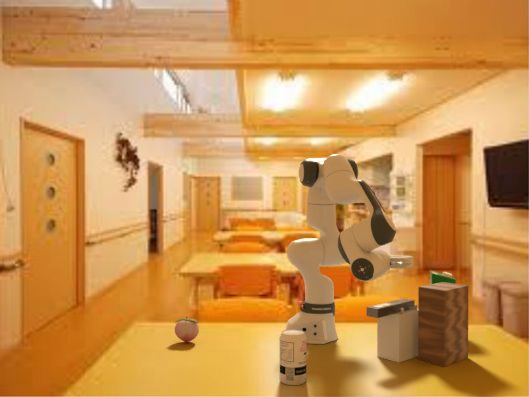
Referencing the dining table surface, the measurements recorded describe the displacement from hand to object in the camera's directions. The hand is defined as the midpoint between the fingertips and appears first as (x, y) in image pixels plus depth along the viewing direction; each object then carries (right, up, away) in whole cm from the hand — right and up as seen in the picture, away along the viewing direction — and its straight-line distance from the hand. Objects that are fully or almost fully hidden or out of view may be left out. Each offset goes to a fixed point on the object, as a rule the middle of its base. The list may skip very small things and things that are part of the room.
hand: (387, 258), depth 199 cm
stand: (+19, -34, -1) cm, 39 cm away
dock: (+5, -34, +3) cm, 35 cm away
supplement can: (-34, -35, -24) cm, 54 cm away
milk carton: (+29, -34, +32) cm, 55 cm away
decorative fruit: (-72, -34, +20) cm, 82 cm away
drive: (+1, -18, -1) cm, 18 cm away
